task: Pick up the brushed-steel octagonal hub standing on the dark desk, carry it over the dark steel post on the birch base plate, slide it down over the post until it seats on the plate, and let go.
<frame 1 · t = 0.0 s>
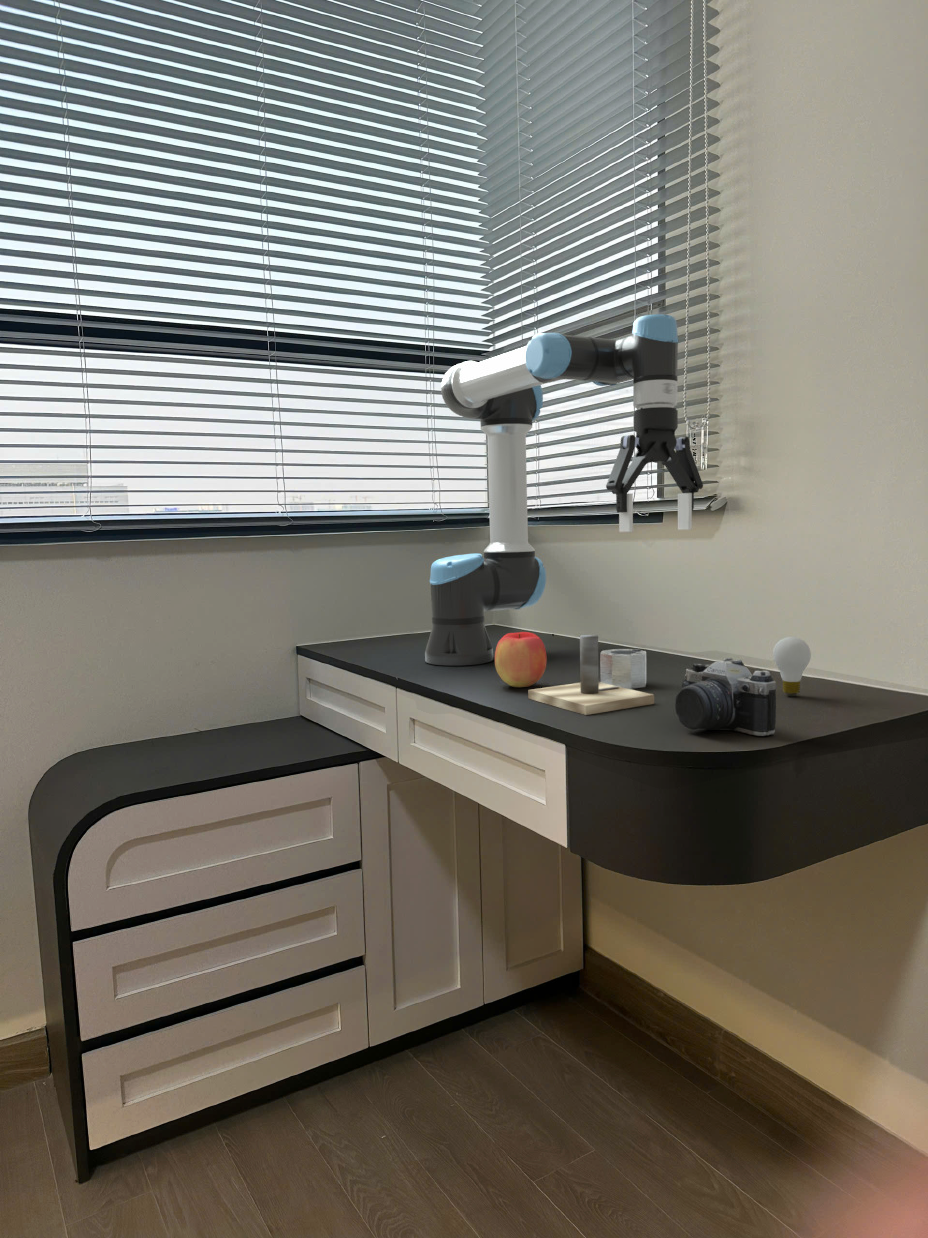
hand: (656, 530, 152), 28 cm above the table, fingers open, 13 cm apart
apple: (520, 687, 159), on the table
light bulb: (791, 697, 144), on the table
camera: (714, 731, 123), on the table
hub: (623, 684, 158), on the table
shaft stand: (589, 701, 144), on the table
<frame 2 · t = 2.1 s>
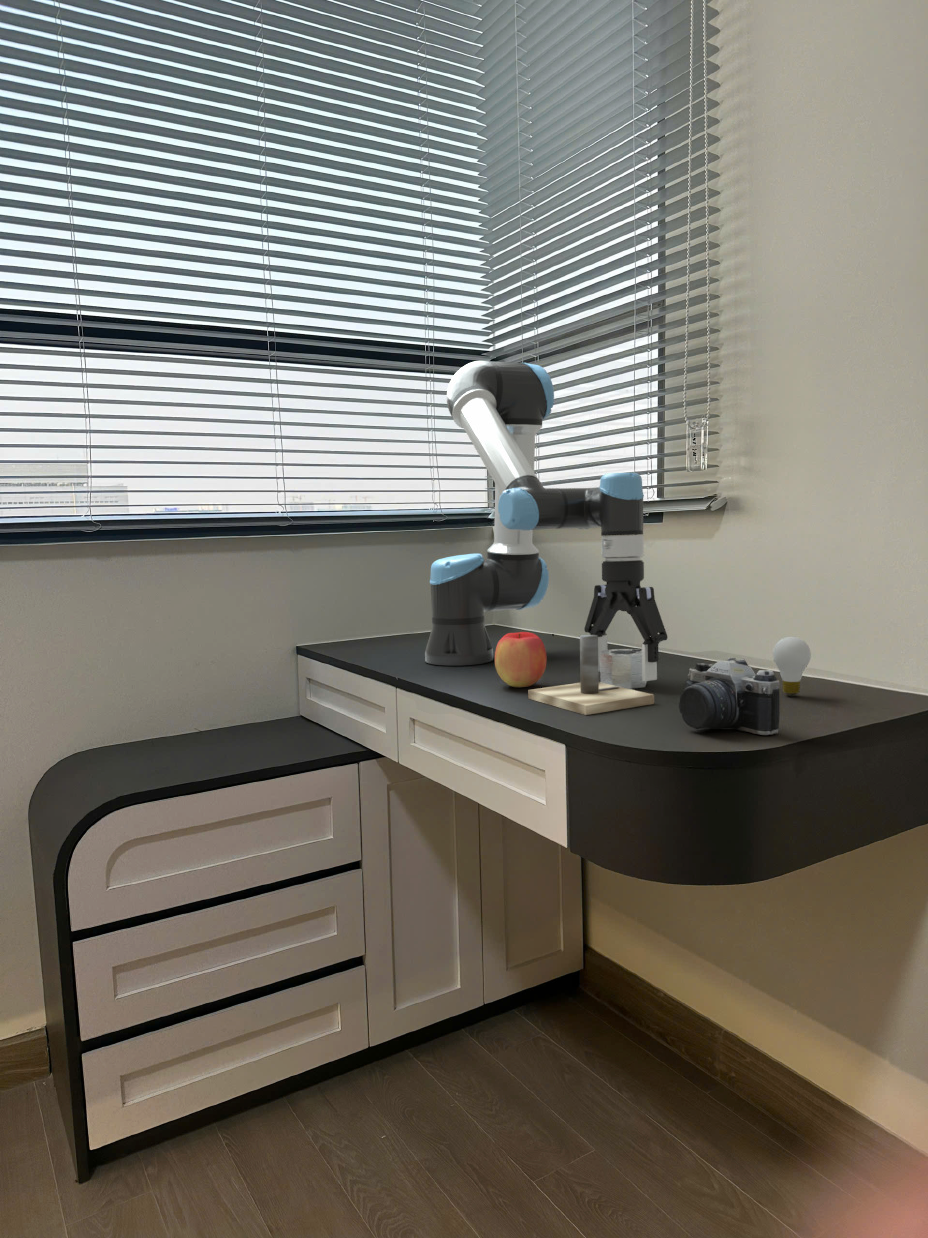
hand: (624, 675, 158), 2 cm above the table, fingers open, 13 cm apart
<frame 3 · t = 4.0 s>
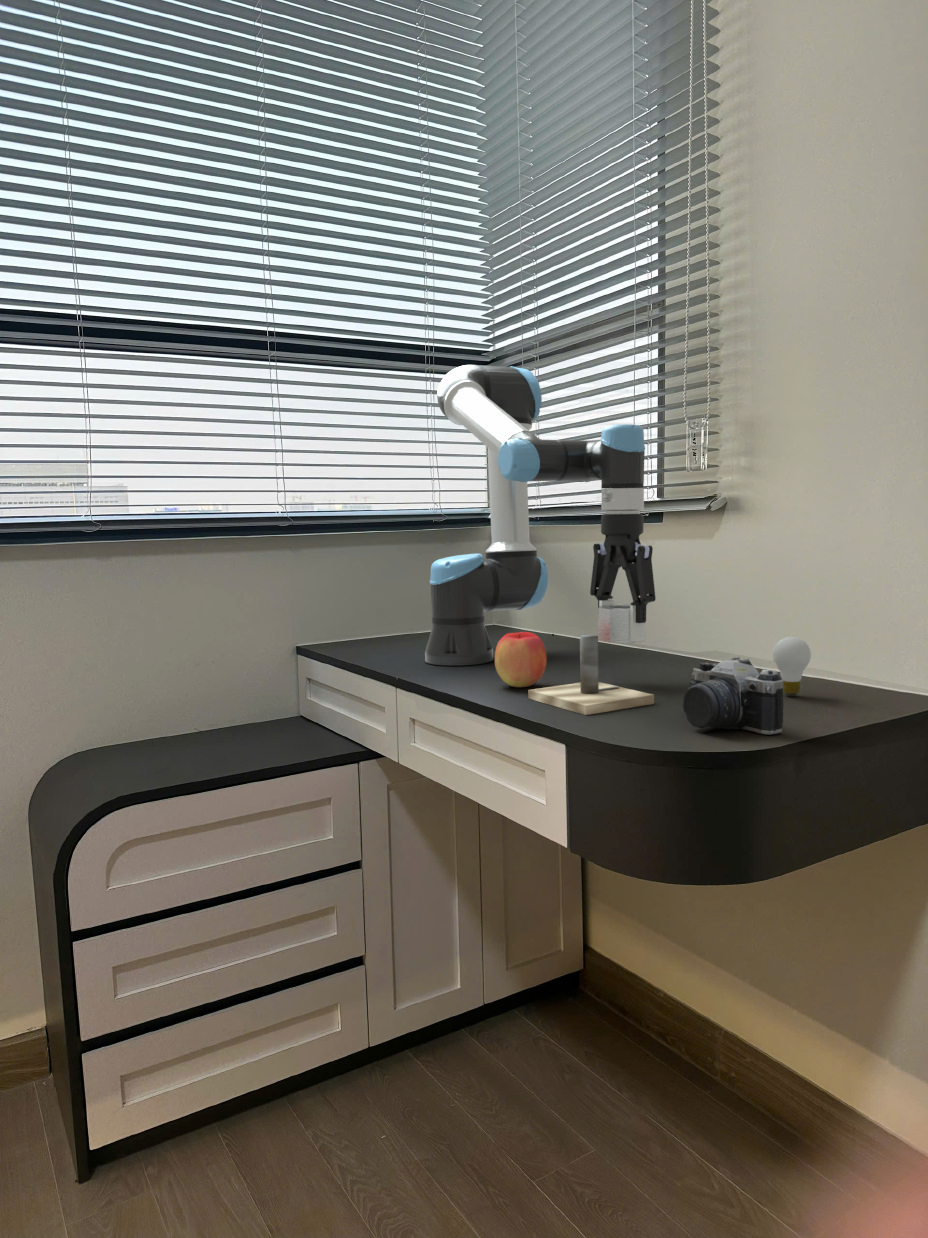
hand: (621, 637, 158), 9 cm above the table, fingers closed on hub, 8 cm apart
hub: (621, 639, 158), point 8 cm above the table, touching gripper
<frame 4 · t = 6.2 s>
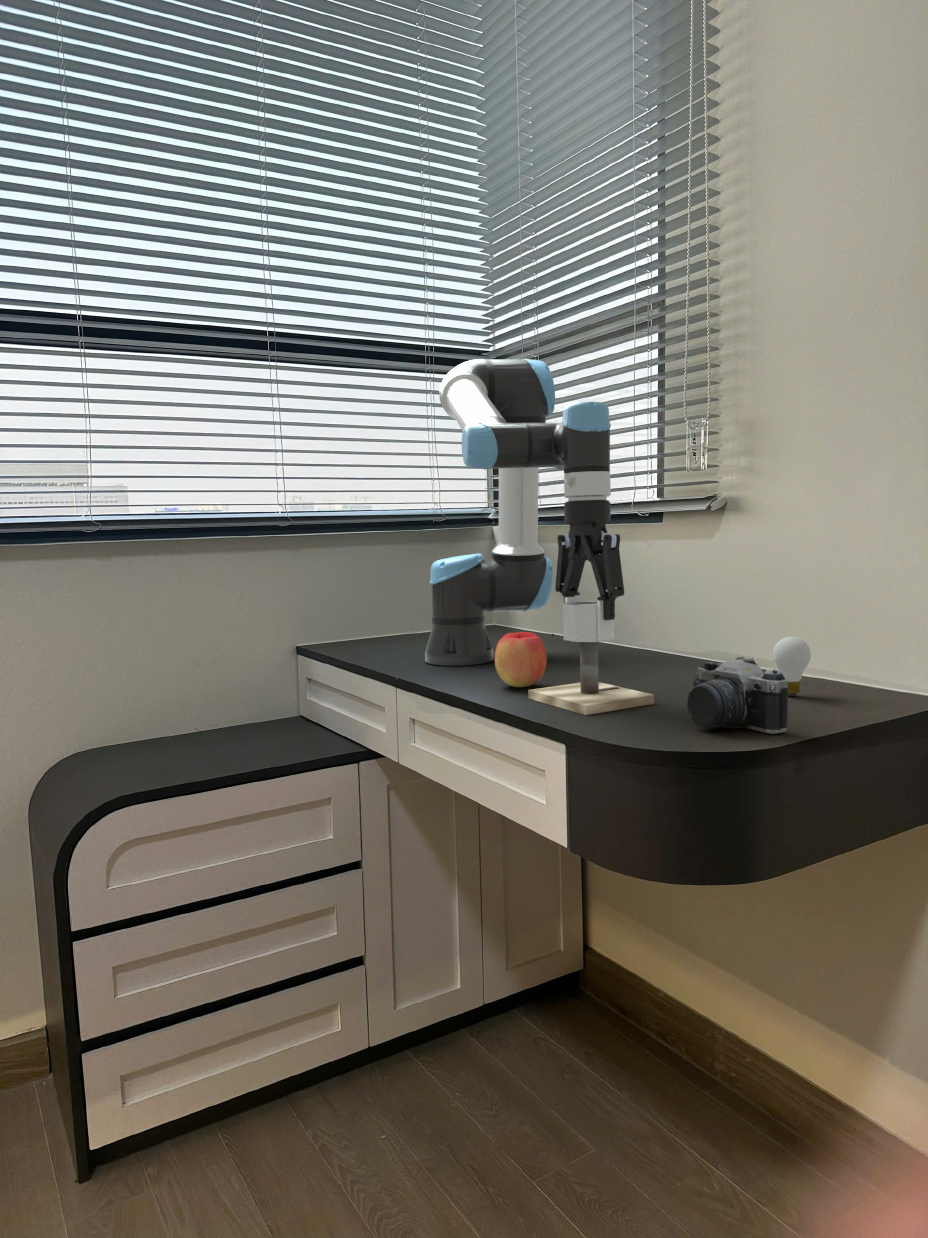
hand: (588, 637, 143), 11 cm above the table, fingers closed on hub, 8 cm apart
hub: (589, 638, 143), point 11 cm above the table, touching gripper
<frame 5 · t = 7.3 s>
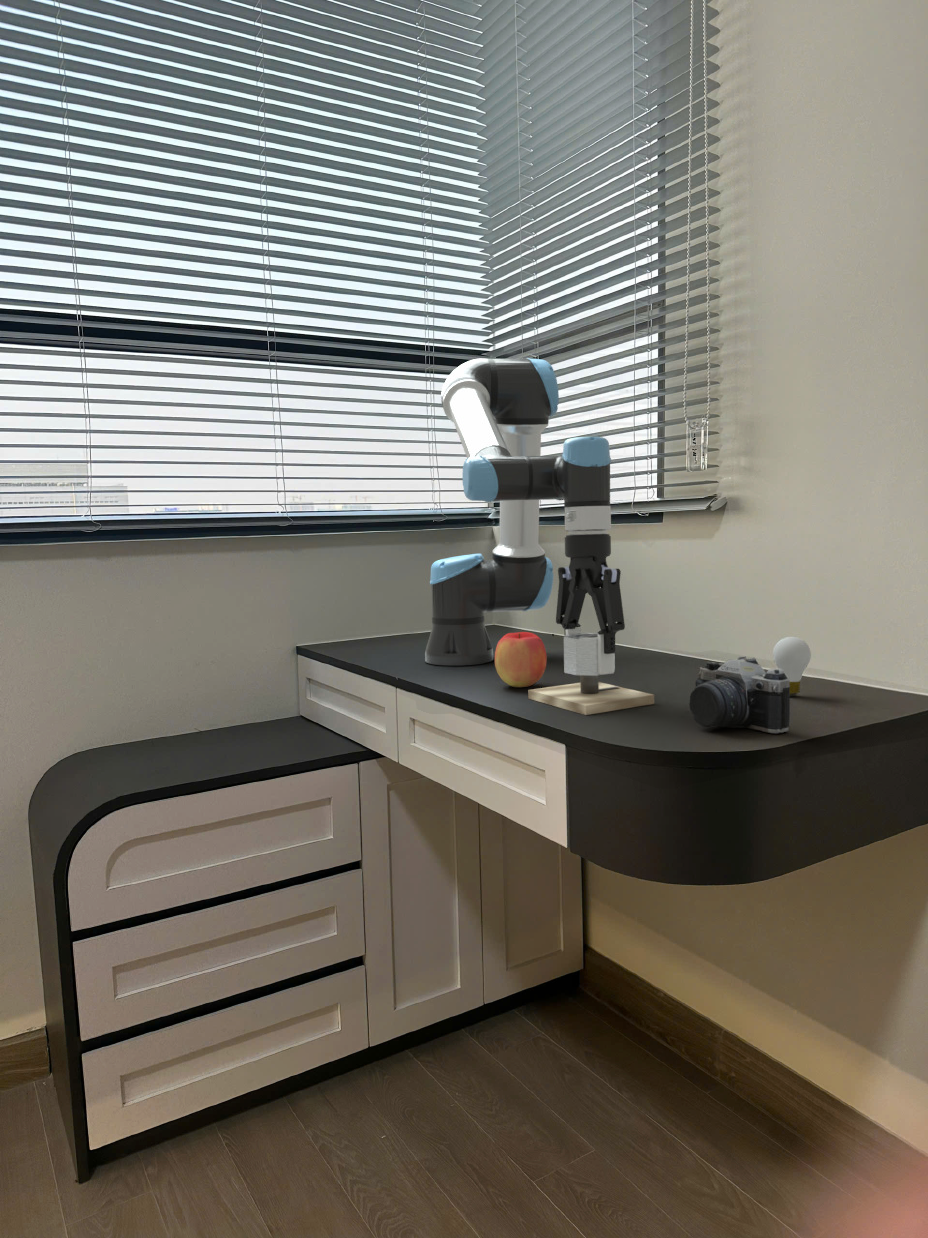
hand: (589, 669, 144), 5 cm above the table, fingers closed on hub, 8 cm apart
hub: (589, 671, 144), point 5 cm above the table, touching gripper
when the fingers open (2 cm above the table, at t = 8.5 s): hub stays where it is, resting on shaft stand.
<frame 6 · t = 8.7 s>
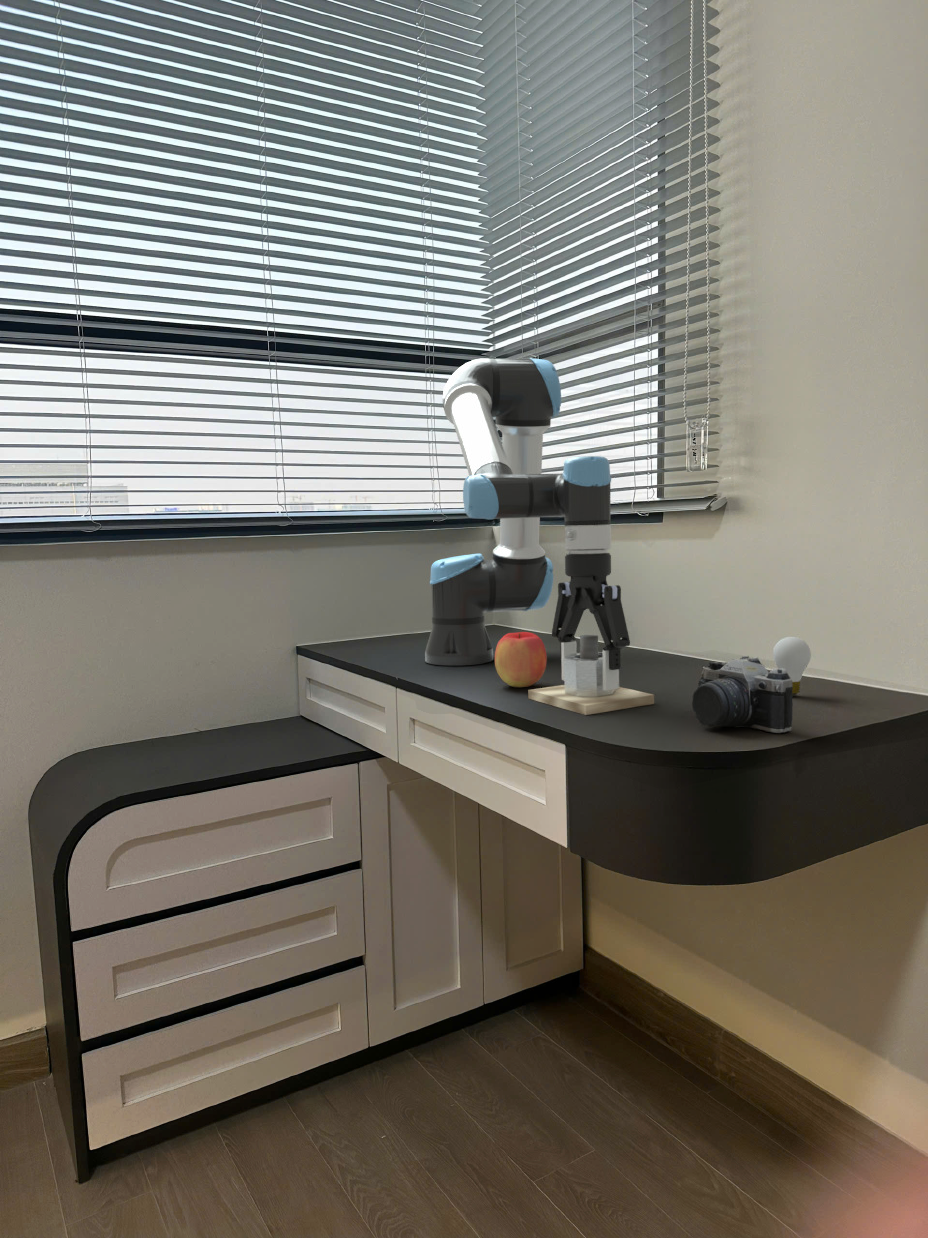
hand: (589, 684, 144), 3 cm above the table, fingers open, 10 cm apart
hub: (590, 691, 144), point 2 cm above the table, touching shaft stand
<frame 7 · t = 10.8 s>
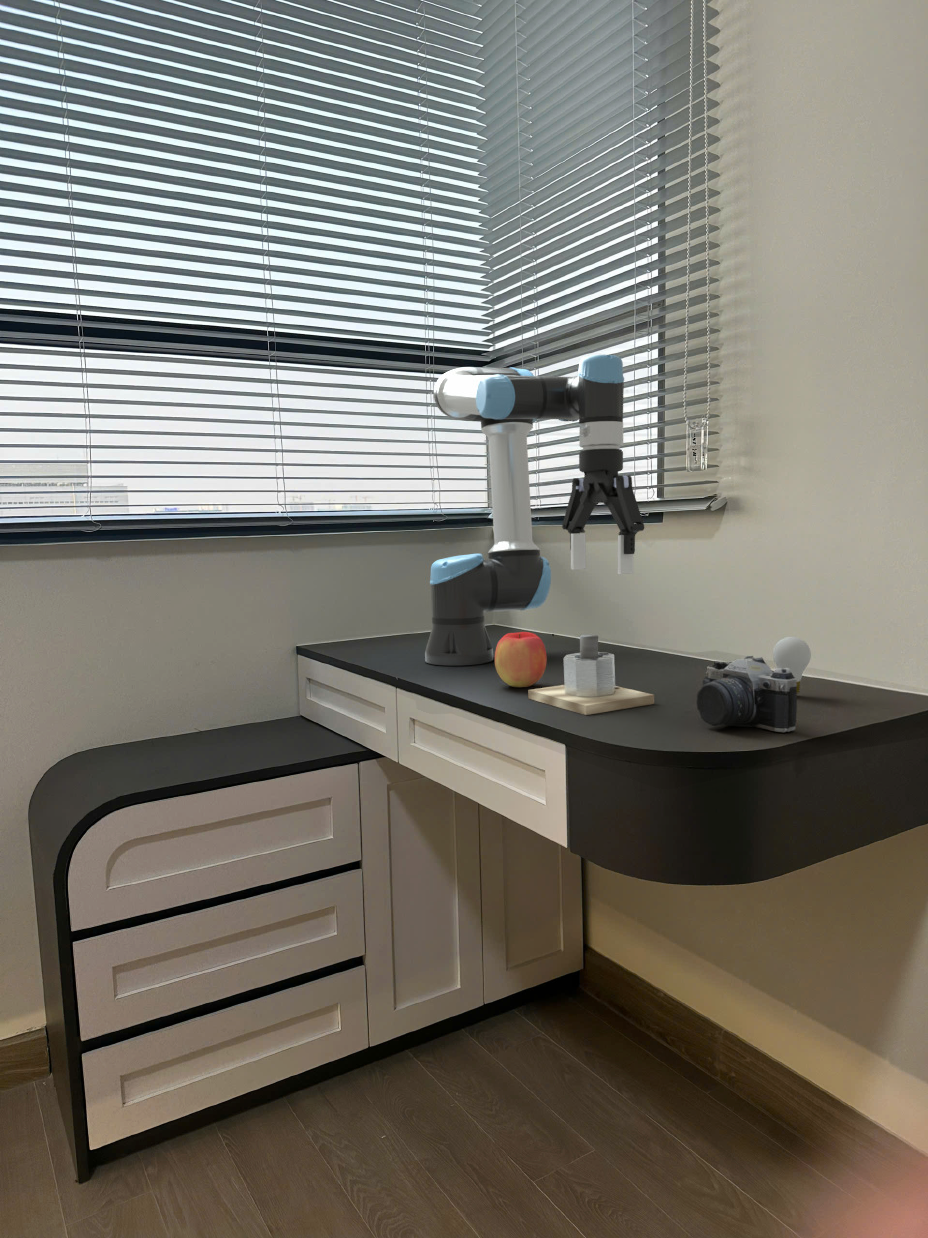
hand: (600, 571, 151), 21 cm above the table, fingers open, 13 cm apart
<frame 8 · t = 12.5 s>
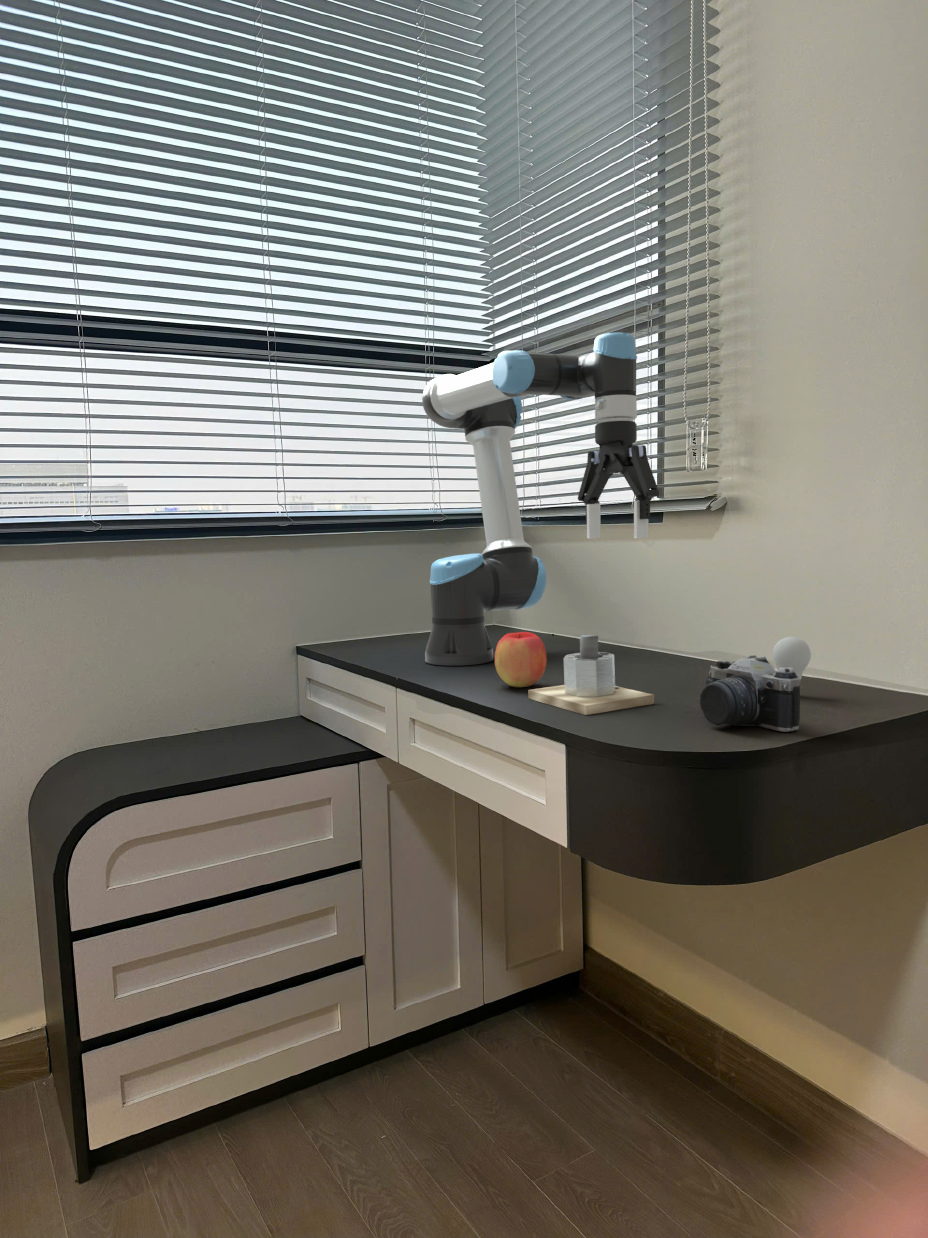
hand: (616, 538, 160), 27 cm above the table, fingers open, 13 cm apart
at the end: hub 0.1 cm from the shaft stand (horizontally); hub point 1.6 cm above the table; the gripper is holding nothing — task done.
